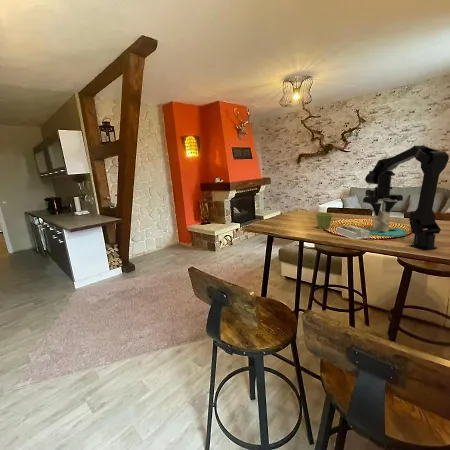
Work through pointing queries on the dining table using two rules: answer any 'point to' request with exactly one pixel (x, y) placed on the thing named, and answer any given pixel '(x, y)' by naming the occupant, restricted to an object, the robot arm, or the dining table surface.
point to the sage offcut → (356, 231)
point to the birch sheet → (381, 221)
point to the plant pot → (324, 219)
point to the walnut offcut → (346, 227)
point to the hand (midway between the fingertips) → (381, 215)
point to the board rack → (353, 233)
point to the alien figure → (391, 232)
